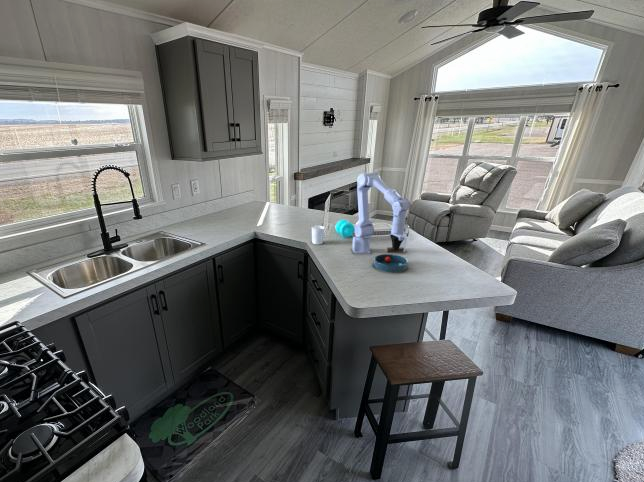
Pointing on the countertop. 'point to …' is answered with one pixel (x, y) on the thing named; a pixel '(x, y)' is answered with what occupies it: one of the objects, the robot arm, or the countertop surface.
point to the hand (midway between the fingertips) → (395, 249)
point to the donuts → (345, 228)
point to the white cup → (317, 234)
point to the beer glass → (405, 236)
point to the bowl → (390, 263)
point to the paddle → (391, 250)
